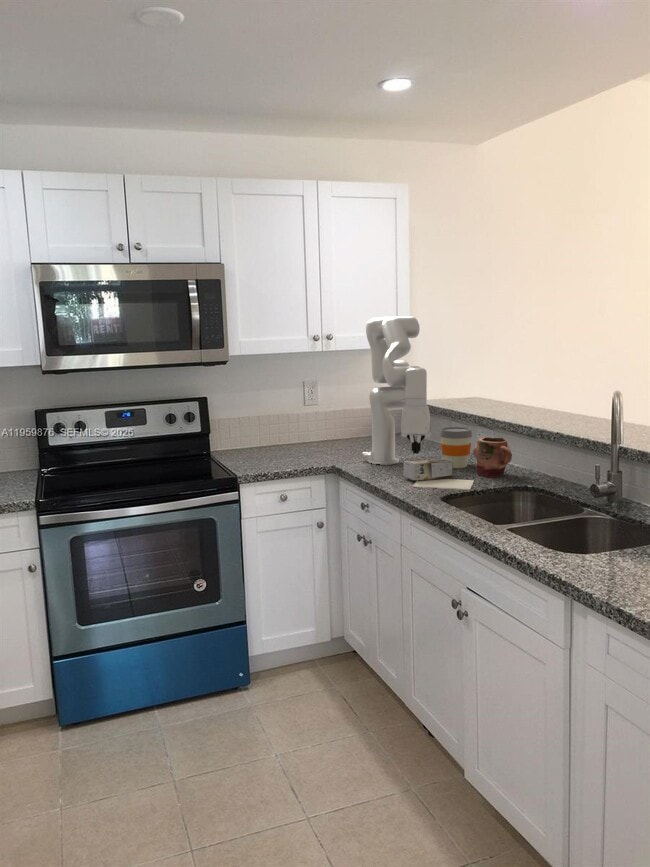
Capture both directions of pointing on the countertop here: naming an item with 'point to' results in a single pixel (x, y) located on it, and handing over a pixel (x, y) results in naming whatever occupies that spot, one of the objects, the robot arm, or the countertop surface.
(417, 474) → the coffee box
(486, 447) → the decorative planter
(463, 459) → the reusable coffee cup
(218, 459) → the countertop surface
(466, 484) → the mat
